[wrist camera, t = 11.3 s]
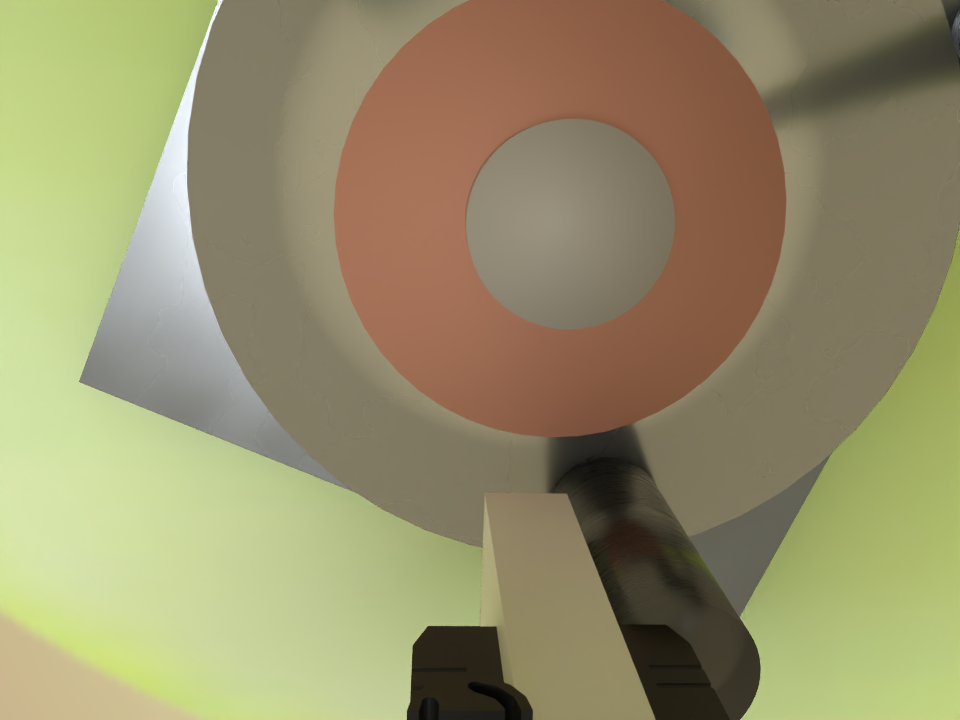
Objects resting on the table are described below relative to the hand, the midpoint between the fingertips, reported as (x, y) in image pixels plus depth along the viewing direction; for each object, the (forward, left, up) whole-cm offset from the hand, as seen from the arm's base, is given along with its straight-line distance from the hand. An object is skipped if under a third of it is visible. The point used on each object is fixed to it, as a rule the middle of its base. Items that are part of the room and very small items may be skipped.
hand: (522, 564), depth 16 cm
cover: (-6, -2, -3) cm, 7 cm away
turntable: (-6, -1, -5) cm, 8 cm away
